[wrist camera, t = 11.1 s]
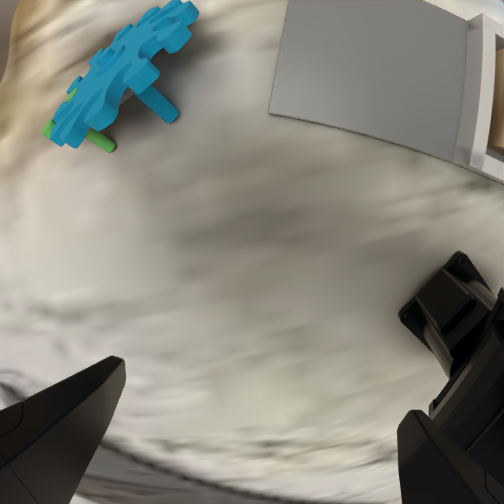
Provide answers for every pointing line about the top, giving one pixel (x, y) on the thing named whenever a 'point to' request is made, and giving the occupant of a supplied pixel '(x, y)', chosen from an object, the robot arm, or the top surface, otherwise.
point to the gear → (122, 77)
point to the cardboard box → (497, 107)
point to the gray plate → (393, 75)
